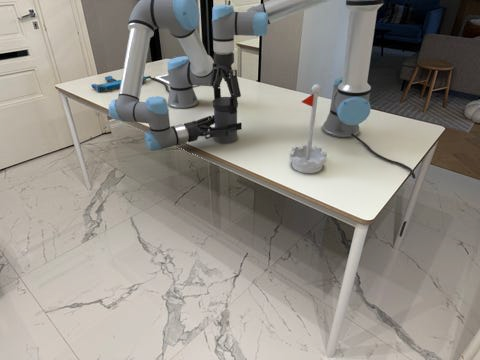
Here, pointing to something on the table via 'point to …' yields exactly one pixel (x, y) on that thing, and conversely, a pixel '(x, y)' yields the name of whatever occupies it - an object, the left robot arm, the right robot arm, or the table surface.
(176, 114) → the table surface
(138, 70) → the left robot arm
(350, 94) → the right robot arm
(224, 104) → the lid
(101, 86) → the submachine gun
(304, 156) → the flag stand
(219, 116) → the jar
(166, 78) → the tablet
